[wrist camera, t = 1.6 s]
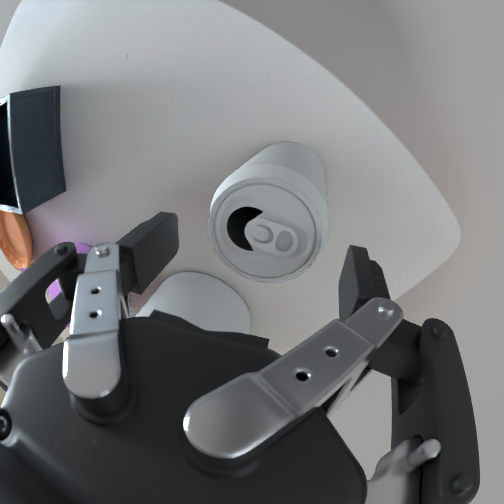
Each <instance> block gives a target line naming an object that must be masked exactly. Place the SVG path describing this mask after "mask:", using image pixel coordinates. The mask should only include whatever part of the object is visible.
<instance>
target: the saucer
mask: <svg viewBox="0 0 504 504" xmlns="http://www.w3.org/2000/svg"><path fill="white" fill-rule="evenodd" d="M0 248H1V250H2V252H3V254H4V255H5V257H6V258H7V260H8V261H9V262H10V264H11V265H12V266H13V267H14V268H16V269H17V270H19V271H21V270H20V268H28V267H29V266H30V264H31V260H32V250H33V247H32V239H31V235H30V231H29V228H28V225H27V223H26V220H25V218H24V216H23V215H22V214H17V213H13V212H9V211H4V210H0Z"/></svg>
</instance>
